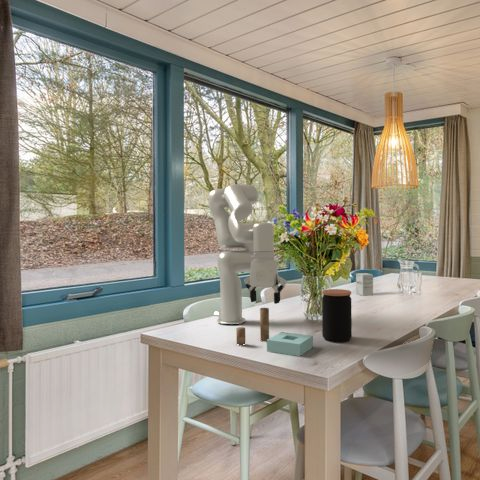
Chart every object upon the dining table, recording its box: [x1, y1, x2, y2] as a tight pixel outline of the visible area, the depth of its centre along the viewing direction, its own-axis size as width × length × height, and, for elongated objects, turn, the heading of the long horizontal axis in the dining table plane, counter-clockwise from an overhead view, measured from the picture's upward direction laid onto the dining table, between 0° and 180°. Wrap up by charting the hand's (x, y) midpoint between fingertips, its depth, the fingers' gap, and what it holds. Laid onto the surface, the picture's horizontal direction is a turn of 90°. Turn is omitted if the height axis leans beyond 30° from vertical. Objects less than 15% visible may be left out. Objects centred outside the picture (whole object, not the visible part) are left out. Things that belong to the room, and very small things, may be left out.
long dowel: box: [259, 307, 270, 342], centre depth 162 cm, size 3×3×12 cm
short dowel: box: [235, 326, 246, 345], centre depth 157 cm, size 3×3×6 cm
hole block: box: [266, 331, 314, 357], centre depth 151 cm, size 12×12×4 cm
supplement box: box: [355, 272, 374, 297], centre depth 261 cm, size 7×7×13 cm
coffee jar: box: [321, 288, 353, 344], centre depth 163 cm, size 11×11×18 cm
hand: (265, 302), depth 162 cm, fingers open, 9 cm apart
